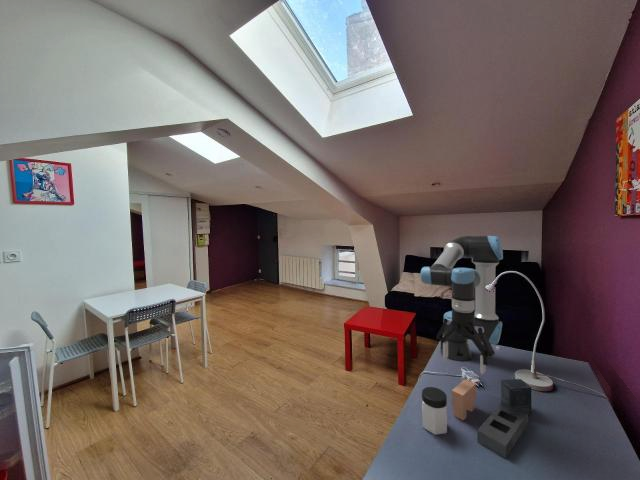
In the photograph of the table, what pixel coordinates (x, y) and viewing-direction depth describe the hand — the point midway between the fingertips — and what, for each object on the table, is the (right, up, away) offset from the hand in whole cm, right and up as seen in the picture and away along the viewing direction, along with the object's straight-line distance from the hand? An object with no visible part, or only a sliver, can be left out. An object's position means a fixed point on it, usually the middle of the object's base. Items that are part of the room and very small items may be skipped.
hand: (463, 365), depth 100 cm
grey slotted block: (+9, -19, -9) cm, 23 cm away
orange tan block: (+1, -19, +1) cm, 19 cm away
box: (+21, -18, +1) cm, 28 cm away
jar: (-13, -20, -5) cm, 24 cm away
